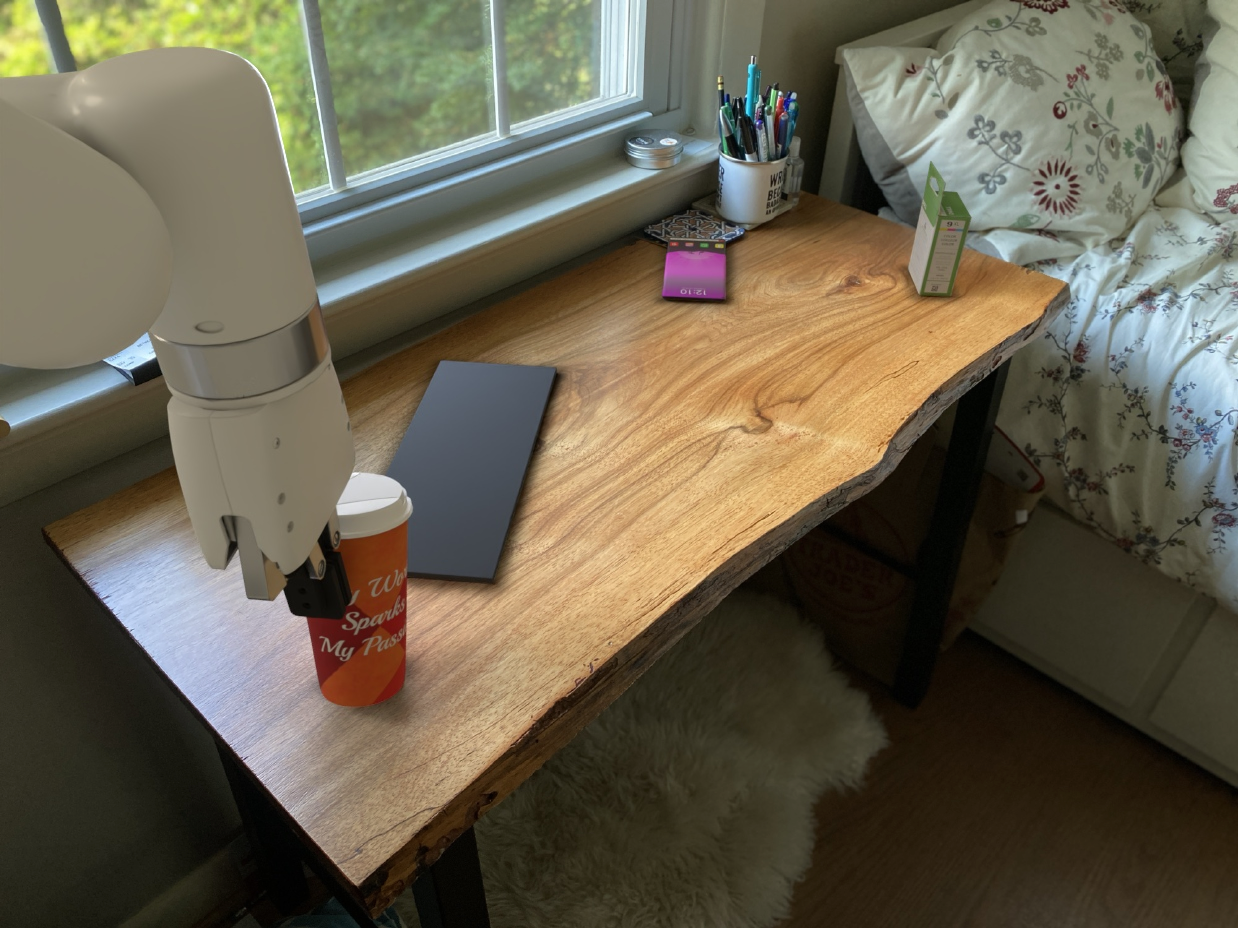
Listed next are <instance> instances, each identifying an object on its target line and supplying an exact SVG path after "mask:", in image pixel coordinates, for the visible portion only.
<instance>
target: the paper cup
mask: <svg viewBox="0 0 1238 928" xmlns="http://www.w3.org/2000/svg"><path fill="white" fill-rule="evenodd" d="M336 508H337V514H338V520H339V526H340V532H341V541H340V545H339V547H338V549H336V550H334V549H333V550H334V551H335V552H341V555H342V559H343V563H344V567H345V570H346V574H347V578H348V582H349V585H350V589H351V593H352V599H351V601H350V603H349V605H348V606H345V607H346V612H345V614H344V616H343V618H342V619H340V620H336V619H324V618H309V617H305V618H306V622H307V629H308V632H309V638H310V642H311V649H312V655H313V660H314V666H315V672H316V675H317V681H318V685H319V689H320V692H321V694H322V696H323V697H324V699H326V700H327V701H328V702H330V703H332V704H334V705H337V706H339V707H346V708H365V707H369V706H373V705H377V704H380V703H383V702H385V701H388V700H389V699H391V698H393V697H394V696H395V695H396V694H398V693H399V692H400V690H401V689H402V688H403V686H404V683H405V679H406V669H407V667H406V666H407V665H406V664H407V621H408V619H407V617H408V616H407V615H408V613H407V612H408V577H407V531H408V518H409V517H410V516H411V513H412V509H413V506H412V503H411V499H410V498H409V497H408V496H407V493H406V490H405V489H404V488H403V487H402V486H401V485H400V484H399V483H398V482H397V481H395V480H393V479H391V478H389V477H386V476H385V475H383V474H379V473H370V472H360V471H359V472H358V471H357V472H355V471H354V472H352V475H351V477H350V479H349V481H348V483H347V485H346V487H345V489H344V491H343V493H342V495H341V497H340V499H339V501H338V503H337V505H336Z"/></svg>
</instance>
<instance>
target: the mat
mask: <svg viewBox="0 0 1238 928" xmlns="http://www.w3.org/2000/svg"><path fill="white" fill-rule="evenodd" d="M557 373H558V368H557V366H542V365H527V364H509V363H508V364H507V363H492V362H473V361H459V360H440V362H439V363H438V366H437V367H436V370H435V372H434V374H433V376H432V378H431V379H430V382H429V384H428V386H427V388H426V390H425V392H424V395H423V397H422V399H421V401H420V403H419V405H418V407H417V409H416V411H415V413H414V415H413V417H412V419H411V421H410V422H409V425H408V427H407V429H406V431H405V433H404V436H403V437H402V440H401V442H400V444H399V446H398V448H397V450H396V452H395V454H394V455H393V457H392V460H391V462H390V464H389V467H388V468H387V470H386V472H385V474H384V476H386V477H389V478H391V479H393V480H395V481H397V482H398V483H399V484H400V485H401V486H402V487H403V488H404V489H405V490H406V493H407V496H408V497H409V498H410V499H411V503H412V506H413V509H412V513H411V516H410V517H409V518H408V531H407V578H415V579H425V580H428V579H429V580H440V581H453V582H463V583H464V582H465V583H478V584H489V585H491V584H492V585H494V583H495V580H496V576H497V572H498V569H499V566H500V563H501V559H502V555H503V552H504V549H505V546H506V543H507V539H508V536H509V533H510V529H511V526H512V524H513V523H512V522H513V519H514V517H515V513H516V509H517V507H518V503H519V499H520V496H521V494H522V493H521V492H522V489H523V486H524V482H525V479H526V476H527V472H528V470H529V466H530V463H531V459H532V455H533V453H534V450H535V447H536V442H537V440H538V436H539V434H540V433H539V432H540V429H541V426H542V423H543V419H544V416H545V412H546V409H547V406H548V404H549V403H548V402H549V399H550V396H551V393H552V389H553V386H554V382H555V380H556V376H557Z"/></svg>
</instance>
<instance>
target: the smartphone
mask: <svg viewBox="0 0 1238 928" xmlns="http://www.w3.org/2000/svg"><path fill="white" fill-rule="evenodd" d="M664 264H665V266H664V273H663V281H662V282H663V283H662V292H661V298H663V299H664V300H675V301H696V302H698V301H699V302H717V303H718V302H719V303H721V302H722V303H723V302H726V300H727V241H726V240H725V239H724V238H711V237H710V238H709V237H687V236H686V237H685V236H684V237H683V236H670V237H669V238H668V239H667V246H666V256H665V263H664Z"/></svg>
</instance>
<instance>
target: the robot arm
mask: <svg viewBox="0 0 1238 928" xmlns="http://www.w3.org/2000/svg"><path fill="white" fill-rule="evenodd" d="M294 189H295V188H294V186H293V182H292V177H291V172H290V168H289V164H288V159H287V155H286V151H285V147H284V141H283V138H282V133H281V129H280V125H279V120H278V115H277V112H276V108H275V103H274V101H273V97H272V94H271V91H270V87H269V86H268V83H267V81H266V80H265V78H264V77H263V75H262V74H261V72H260V71H259V69H258V68H257V67H255V65H254V64H252V62H250V61H249V60H247V59H246V58H244V57H242V56H241V55H239V54H237V53H234V52H232V51H227V50H222V49H218V48H211V47H205V46H168V47H166V46H165V47H158V48H157V47H156V48H149V49H143V50H137V51H131V52H127V53H123V54H120V55H116V56H113V57H109V58H107V59H104V60H102V61H99V62H96V63H95V64H93V65H91V66H89V67H87V68H85V69H81V70H75V71H68V72H67V71H66V72H57V73H45V74H34V75H22V76H5V77H4V76H3V77H0V365H5V366H9V367H15V368H24V369H25V368H26V369H35V370H62V369H73V368H78V367H84V366H89V365H93V364H96V363H98V362H101V361H104V360H106V359H109V358H112V357H114V356H116V355H118V354H119V353H122V352H123V351H124V350H125V349H127V348H129V347H131V346H133V345H134V344H135V343H137V341H138V340H140V339H141V338H142V337H143V336H144V335H145V334H146V333H147V336H148V338H149V341H150V343H151V346H152V349H153V352H154V354H155V357H156V359H157V362H158V365H159V369H160V370H161V373H162V376H163V379H164V381H165V384H166V387H167V389H168V391H169V392H170V394H171V395H172V396H171V397H170V399H169V400H168V403H167V406H166V408H167V419H168V431H169V436H170V444H171V450H172V454H173V455H172V456H173V460H174V463H175V469H176V472H177V476H178V480H179V484H180V487H181V491H182V495H183V498H184V502H185V505H186V509H187V513H188V516H189V519H190V522H191V525H192V528H193V531H194V534H195V537H196V540H197V543H198V546H199V548H200V551H201V553H202V556H203V558H204V560H205V562H206V563H207V565H208V567H210V568H211V570H212V569H213V570H222V571H226V569H227V568H228V566H229V564H230V563H231V561H232V560H233V558H234V557H235V555H236V554H237V552H238V556H239V562H240V568H241V573H242V579H243V585H244V590H245V596H246V598H247V599H248V600H251V601H252V600H253V601H262V602H263V601H265V602H273V601H275V600H276V599H277V597H278V596H279V595H280V593H282V592H283V594H284V597H285V600H286V603H287V606H288V609H289V612H290V613H291V614H292V615H293V616H295V617H300V618H301V617H302V618H306V617H309V618H324V619H336V620H340V619H342V618H343V616H344V614H345V612H346V607H345V606H348V605H349V603H350V601H351V599H352V593H351V589H350V585H349V582H348V578H347V574H346V570H345V567H344V563H343V559H342V555H341V552H335V551H334V550H336V549H338V547H339V545H340V541H341V532H340V526H339V520H338V514H337V508H336V505H337V503H338V501H339V499H340V497H341V495H342V493H343V491H344V489H345V487H346V485H347V483H348V481H349V479H350V477H351V475H352V473H354V472H353V471H354V468H355V464H356V448H355V440H354V435H353V430H352V426H351V421H350V417H349V413H348V410H347V405H346V402H345V398H344V394H343V392H342V391H343V390H342V388H341V385H340V382H339V379H338V375H337V372H336V370H335V367H334V364H333V361H332V350H331V345H330V341H329V337H328V333H327V329H326V324H325V319H324V315H323V310H322V305H321V303H320V299H319V294H318V290H317V286H316V285H317V284H316V281H315V277H314V272H313V267H312V263H311V260H310V259H311V258H310V254H309V251H308V246H307V242H306V238H305V233H304V229H303V224H302V221H301V216H300V212H299V206H298V203H297V198H296V194H295V190H294ZM333 549H334V550H333Z"/></svg>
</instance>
